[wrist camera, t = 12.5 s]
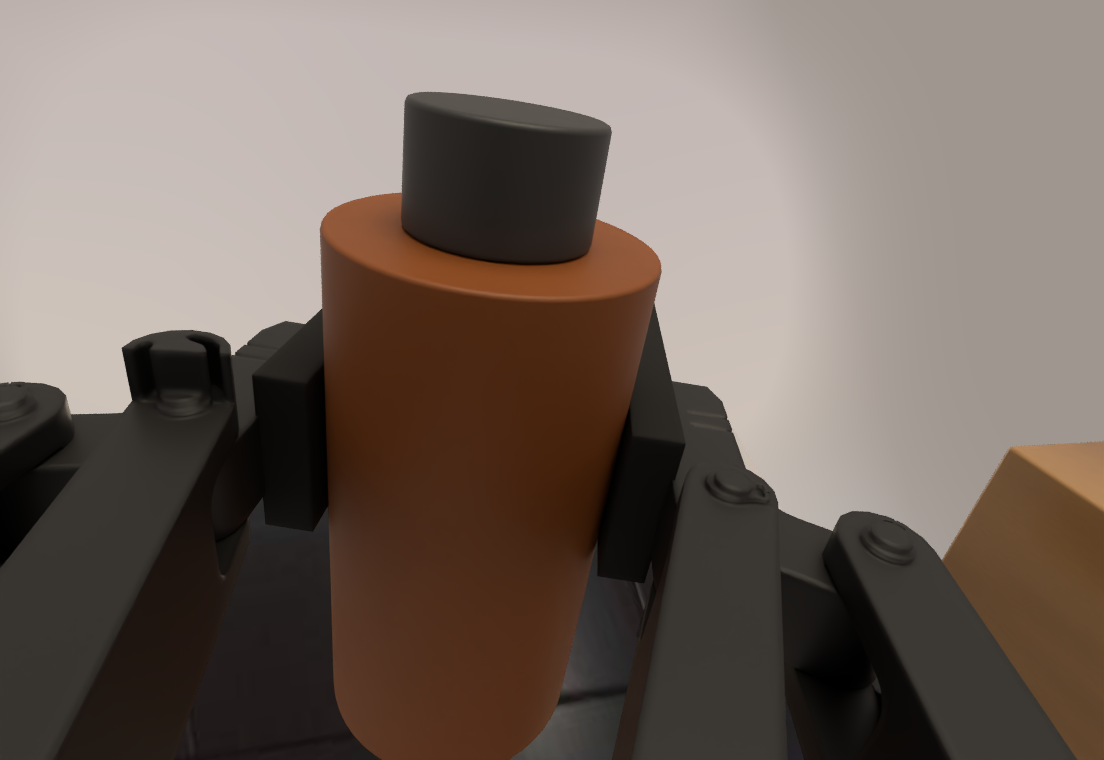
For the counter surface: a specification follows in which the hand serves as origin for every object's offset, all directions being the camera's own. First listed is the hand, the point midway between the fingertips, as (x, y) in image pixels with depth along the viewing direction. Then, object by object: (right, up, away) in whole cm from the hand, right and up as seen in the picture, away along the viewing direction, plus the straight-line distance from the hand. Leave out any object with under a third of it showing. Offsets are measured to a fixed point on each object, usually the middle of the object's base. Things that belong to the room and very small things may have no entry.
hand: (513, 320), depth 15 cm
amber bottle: (-1, -7, -2) cm, 8 cm away
